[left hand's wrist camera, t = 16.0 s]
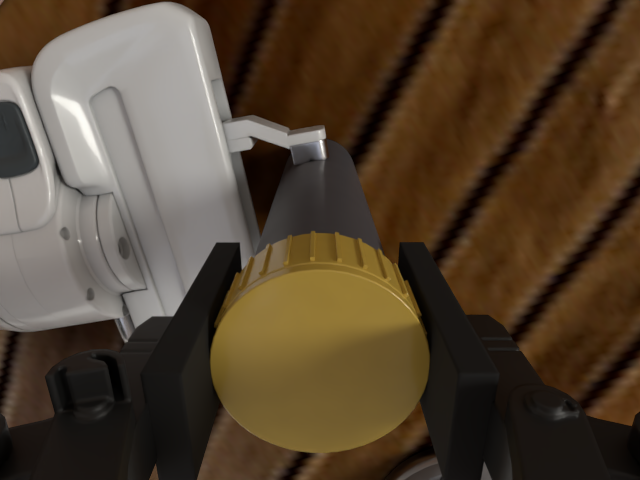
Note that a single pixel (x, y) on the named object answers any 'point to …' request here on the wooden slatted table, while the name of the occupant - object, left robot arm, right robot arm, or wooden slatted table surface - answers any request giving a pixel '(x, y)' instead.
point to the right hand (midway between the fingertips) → (336, 196)
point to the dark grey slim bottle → (320, 201)
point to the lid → (319, 345)
